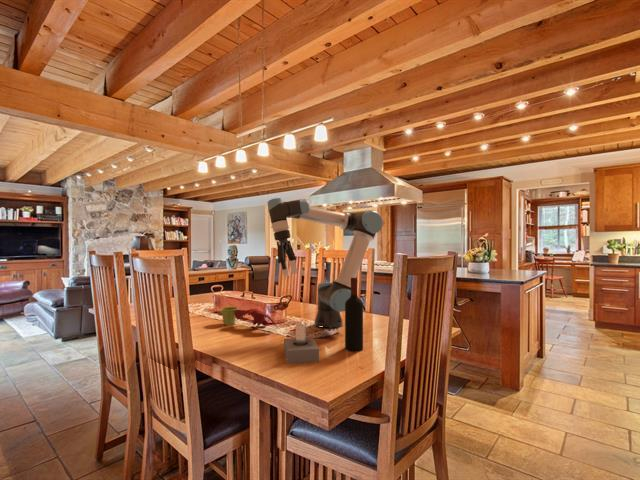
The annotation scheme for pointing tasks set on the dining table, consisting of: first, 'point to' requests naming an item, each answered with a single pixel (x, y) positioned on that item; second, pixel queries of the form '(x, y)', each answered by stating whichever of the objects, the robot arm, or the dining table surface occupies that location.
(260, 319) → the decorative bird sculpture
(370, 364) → the dining table surface
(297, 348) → the charcoal hole block
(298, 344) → the steel pin
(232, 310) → the plant pot
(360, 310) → the wine bottle
